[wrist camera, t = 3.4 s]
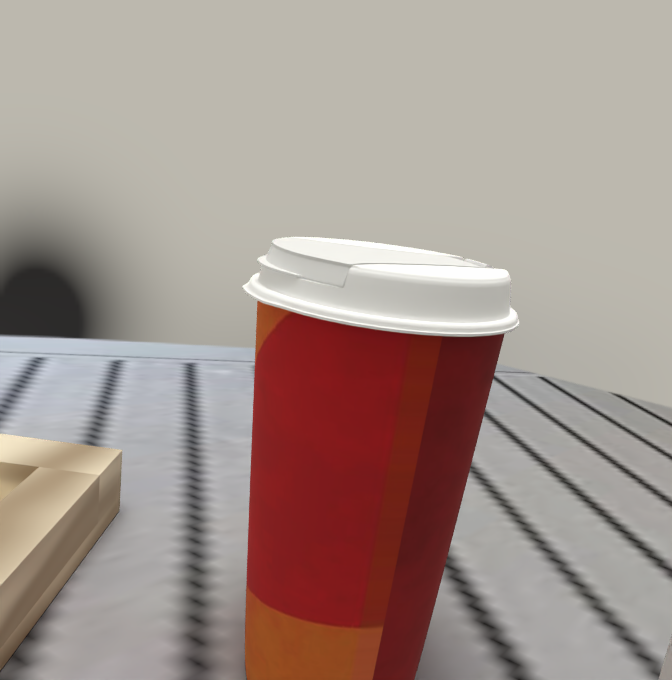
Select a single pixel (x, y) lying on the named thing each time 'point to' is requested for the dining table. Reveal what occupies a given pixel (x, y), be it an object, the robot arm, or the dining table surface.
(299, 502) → the paper cup
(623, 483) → the dining table surface
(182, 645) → the dining table surface
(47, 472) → the tray
